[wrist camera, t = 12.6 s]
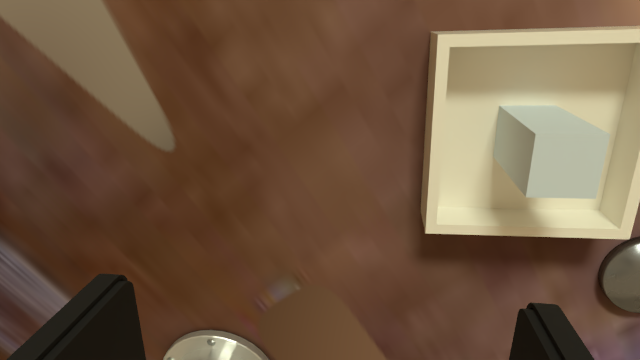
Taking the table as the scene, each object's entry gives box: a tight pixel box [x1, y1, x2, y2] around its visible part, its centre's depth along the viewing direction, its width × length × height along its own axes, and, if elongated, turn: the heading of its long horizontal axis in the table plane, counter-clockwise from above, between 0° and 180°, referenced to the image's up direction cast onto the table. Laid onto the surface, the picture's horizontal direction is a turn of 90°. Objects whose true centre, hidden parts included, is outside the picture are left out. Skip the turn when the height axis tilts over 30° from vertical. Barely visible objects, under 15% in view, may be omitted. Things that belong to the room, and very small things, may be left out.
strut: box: [493, 105, 610, 199], centre depth 29 cm, size 4×4×8 cm
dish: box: [421, 26, 640, 239], centre depth 32 cm, size 15×15×4 cm
